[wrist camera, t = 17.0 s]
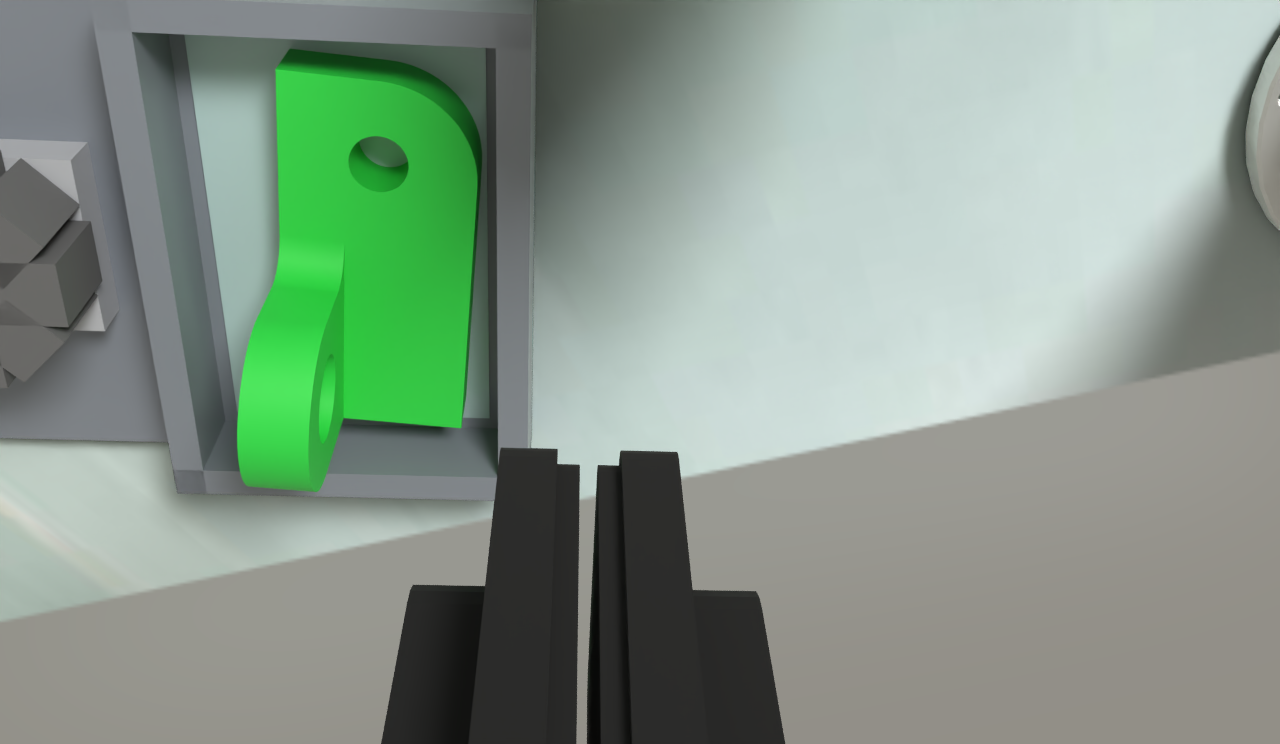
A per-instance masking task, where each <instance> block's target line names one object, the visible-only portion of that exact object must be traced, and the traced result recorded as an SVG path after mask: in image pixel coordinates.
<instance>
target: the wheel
mask: <svg viewBox="0 0 1280 744" xmlns="http://www.w3.org/2000/svg"><path fill="white" fill-rule="evenodd" d="M79 206H80V204H79V203H77V202H76V201H75V200H73V199H72V198H71V197H70V196H68V195H67V194H66V193H65V192H63V191H62V190H61V189H60V188H58V187H57V186H56V185H55V184H53V183H52V182H51V181H50V180H48V179H47V178H46V177H44V176H43V175H42V174H41V173H39V172H38V171H37V170H36V169H34V168H33V167H32V166H31V165H29V164H28V163H27V162H26V161H24V160H23V159H22V158H20V159H19V160H18V161H17V162H16V163H15V164H14V165H13V166H12V167H11V168H10V169H9V170H8V171H6V170H5V166H4V162H3V157H2V153H1V150H0V388H8V387H9V386H10V385H11V383H12V382H13V381H14V379H15V378H16V377H17V378H18V379H20V380H21V381H23V382H25V381H26V380H27V379H28V378H29V377H30V376H31V375H32V374H33V373H34V372H35V371H36V370H37V369H38V368H39V367H40V366H41V365H42V364H43V363H44V362H45V361H46V360H47V359H48V358H49V357H50V356H51V355H52V354H53V353H54V352H55V351H56V350H57V349H58V348H59V347H60V346H61V345H62V344H63V343H64V342H65V341H66V340H67V338H68V337H69V336H70V334H71V333H72V331H73V330H74V329H75V327H76V326H77V324H78V323H79V322H80V320H81V319H82V317H83V316H84V315H85V313H86V312H87V311H88V309H89V308H90V306H91V305H92V304H93V302H94V301H95V299H96V298H97V297H98V295H97V294H96V293H94V292H95V290H96V289H97V288H98V286H99V285H100V284H101V282H102V276H101V271H100V266H99V260H98V255H97V250H96V245H95V240H94V235H93V230H92V225H91V221H76V220H68V218H69V217H70V216H71V215H72V214H73V213H74V211H75V210H76V209H77V208H78V207H79Z"/></svg>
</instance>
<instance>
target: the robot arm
mask: <svg viewBox="0 0 1280 744" xmlns="http://www.w3.org/2000/svg"><path fill="white" fill-rule="evenodd" d="M1246 165H1247V169H1248V173H1249V177H1250V181H1251V185H1252V189H1253V193H1254V195H1255V197H1256V198H1257V200H1258V202H1259V204H1260V206H1261V208H1262V209H1263V211H1264V213H1265V215H1266V217H1267V218H1268V220H1269V221H1270V222H1271V223H1272V224H1273V225H1274V226H1275V227H1276V228H1277V229H1278V230H1279V231H1280V36H1279V37H1278V39H1277V41H1276V43H1275V44H1274V46H1273V48H1272V50H1271V51H1270V53H1269V55H1268V57H1267V58H1266V60H1265V63H1264V65H1263V68H1262V71H1261V73H1260V76H1259V79H1258V81H1257V84H1256V87H1255V89H1254V92H1253V95H1252V98H1251V104H1250V109H1249V115H1248V120H1247V126H1246ZM557 452H558V450H557V449H538V448H501V449H500V455H499V463H498V473H497V482H496V491H495V500H494V510H493V519H492V529H491V538H490V547H489V556H488V565H487V575H486V584H485V586H445V585H443V586H442V585H413V586H412V588H411V590H410V594H409V598H408V602H407V608H406V612H405V618H404V623H403V629H402V634H401V640H400V645H399V650H398V656H397V661H396V667H395V672H394V677H393V683H392V689H391V694H390V700H389V705H388V711H387V715H386V721H385V726H384V732H383V738H382V743H381V744H576V724H577V722H576V720H577V719H576V718H577V641H578V639H577V638H578V560H579V482H580V465H568V464H557ZM594 532H595V533H594V553H593V574H592V575H593V576H592V595H591V596H592V597H591V617H590V638H589V660H588V689H587V691H588V692H587V744H785V740H784V734H783V728H782V723H781V717H780V711H779V705H778V700H777V693H776V688H775V682H774V676H773V670H772V664H771V659H770V653H769V647H768V641H767V635H766V629H765V624H764V618H763V613H762V607H761V603H760V599H759V596H758V594H757V593H756V591H708V590H692V581H691V572H690V563H689V552H688V543H687V534H686V523H685V514H684V504H683V495H682V485H681V475H680V466H679V458H678V453H677V452H654V451H621V452H620V459H619V466H608V465H598V470H597V488H596V510H595V531H594Z"/></svg>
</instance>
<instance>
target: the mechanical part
mask: <svg viewBox="0 0 1280 744" xmlns="http://www.w3.org/2000/svg"><path fill="white" fill-rule="evenodd" d="M275 73H276V114H277V154H278V195H279V236H280V241H279V257H278V265H277V271H276V276H275V280H274V283H273V285H272V288H271V290H270V292H269V294H268V296H267V298H266V300H265V303H264V305H263V307H262V309H261V311H260V313H259V315H258V317H257V320H256V322H255V324H254V327H253V330H252V333H251V336H250V340H249V344H248V348H247V352H246V357H245V362H244V367H243V373H242V380H241V387H240V396H239V407H238V422H237V450H238V462H239V468H240V473H241V477H242V480H243V482H244V483H245V485H246V486H249V487H261V488H273V489H285V490H297V491H310V492H318V491H319V490H320V488H321V487H322V484H323V482H324V480H325V477H326V474H327V470H328V467H329V464H330V461H331V457H332V454H333V451H334V447H335V444H336V441H337V438H338V434H339V431H340V428H341V425H342V421H343V418H350V419H361V420H372V421H384V422H395V423H407V424H418V425H429V426H441V427H452V428H461V427H462V420H463V414H464V408H465V401H466V393H467V378H468V363H469V349H470V334H471V319H472V305H473V290H474V275H475V261H476V246H477V231H478V217H479V202H480V187H481V172H482V146H481V140H480V135H479V132H478V129H477V126H476V124H475V121H474V119H473V117H472V115H471V113H470V112H469V110H468V108H467V107H466V105H465V104H464V103H463V101H462V100H461V99H460V98H459V96H458V95H457V94H456V93H455V92H454V91H453V90H452V89H451V88H450V87H449V86H448V85H446V84H445V83H444V82H442V81H441V80H440V79H438V78H437V77H435V76H434V75H432V74H430V73H428V72H426V71H424V70H422V69H420V68H418V67H415V66H412V65H410V64H406V63H402V62H398V61H392V60H384V59H375V58H367V57H358V56H349V55H341V54H332V53H324V52H315V51H307V50H298V49H289V50H288V52H287V53H286V55H285V56H284V58H283V59H282V60H281V62H280V63H279V65H278V66H277V68H276V69H275ZM372 136H380V137H384V138H388V139H390V140H392V141H394V142H395V143H396V144H398V145H399V146H400V147H401V148H402V150H403V151H404V153H405V154H406V157H407V159H408V161H407V162H406V163H405V164H403V165H400V166H397V167H384V166H380V165H378V164H376V163H374V162H372V161H371V160H370V159H369V158H368V157H367V156H366V155H365V154H364V152H363V151H362V149H361V146H360V143H359V141H360V140H362V139H364V138H367V137H372Z"/></svg>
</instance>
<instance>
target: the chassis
mask: <svg viewBox="0 0 1280 744" xmlns="http://www.w3.org/2000/svg"><path fill="white" fill-rule="evenodd" d="M536 30H537V0H0V150H1V153H2V157H3V162H4V166H5V170H6V171H8V170H9V169H10V168H11V167H12V166H13V165H14V164H15V163H16V162H17V161H18V160H19V159H20V158H22V159H23V160H24V161H26V162H27V163H28V164H29V165H31V166H32V167H33V168H34V169H36V170H37V171H38V172H39V173H41V174H42V175H43V176H44V177H46V178H47V179H48V180H50V181H51V182H52V183H53V184H55V185H56V186H57V187H58V188H60V189H61V190H62V191H63V192H65V193H66V194H67V195H68V196H70V197H71V198H72V199H73V200H75V201H76V202H77V203H79V204H80V206H79V207H78V208H77V209H76V210H75V211H74V213H73V214H72V215H71V216H70V217H69V218H68V220H76V221H91V225H92V230H93V235H94V240H95V245H96V250H97V255H98V260H99V266H100V271H101V276H102V282H101V284H100V285H99V286H98V288H97V289H96V290H95V292H94V293H96V294H97V295H98V297H97V298H96V299H95V301H94V302H93V304H92V305H91V306H90V308H89V309H88V311H87V312H86V313H85V315H84V316H83V317H82V319H81V320H80V322H79V323H78V324H77V326H76V327H75V329H74V330H73V331H72V333H71V334H70V336H69V337H68V338H67V340H66V341H65V342H64V343H63V344H62V345H61V346H60V347H59V348H58V349H57V350H56V351H55V352H54V353H53V354H52V355H51V356H50V357H49V358H48V359H47V360H46V361H45V362H44V363H43V364H42V365H41V366H40V367H39V368H38V369H37V370H36V371H35V372H34V373H33V374H32V375H31V376H30V377H29V378H28V379H27V380H26V381H25V382H23V381H21V380H20V379H18V378H17V377H16V378H15V379H14V381H13V382H12V383H11V385H10V386H9V387H8V388H0V438H21V439H60V440H99V441H138V442H168V444H169V449H170V455H171V461H172V466H173V472H174V477H175V483H176V489H177V493H184V494H227V495H270V496H314V497H357V498H400V499H444V500H487V501H494V500H495V491H496V482H497V473H498V463H499V455H500V449H501V448H531V440H532V374H533V288H534V202H535V116H536ZM289 49H298V50H307V51H315V52H324V53H332V54H341V55H349V56H358V57H367V58H375V59H384V60H392V61H398V62H402V63H406V64H410V65H412V66H415V67H418V68H420V69H422V70H424V71H426V72H428V73H430V74H432V75H434V76H435V77H437V78H438V79H440V80H441V81H442V82H444V83H445V84H446V85H448V86H449V87H450V88H451V89H452V90H453V91H454V92H455V93H456V94H457V95H458V96H459V98H460V99H461V100H462V101H463V103H464V104H465V105H466V107H467V108H468V110H469V112H470V113H471V115H472V117H473V119H474V121H475V124H476V126H477V129H478V132H479V135H480V140H481V146H482V172H481V187H480V202H479V217H478V231H477V246H476V261H475V275H474V290H473V305H472V319H471V334H470V349H469V363H468V378H467V393H466V401H465V408H464V414H463V420H462V427H461V428H452V427H441V426H429V425H418V424H407V423H395V422H384V421H372V420H361V419H350V418H343V421H342V425H341V428H340V431H339V434H338V438H337V441H336V444H335V447H334V451H333V454H332V457H331V461H330V464H329V467H328V470H327V474H326V477H325V480H324V482H323V484H322V487H321V488H320V490H319V491H318V492H310V491H297V490H285V489H273V488H261V487H249V486H246V485H245V483H244V482H243V480H242V477H241V473H240V468H239V462H238V450H237V422H238V407H239V396H240V387H241V380H242V373H243V367H244V362H245V357H246V352H247V348H248V344H249V340H250V336H251V333H252V330H253V327H254V324H255V322H256V320H257V317H258V315H259V313H260V311H261V309H262V307H263V305H264V303H265V300H266V298H267V296H268V294H269V292H270V290H271V288H272V285H273V283H274V280H275V276H276V271H277V265H278V257H279V241H280V236H279V195H278V154H277V114H276V73H275V69H276V68H277V66H278V65H279V63H280V62H281V60H282V59H283V58H284V56H285V55H286V53H287V52H288V50H289ZM359 143H360V146H361V149H362V151H363V152H364V154H365V155H366V156H367V157H368V158H369V159H370V160H371V161H372V162H374V163H376V164H378V165H380V166H384V167H397V166H400V165H403V164H405V163H406V162H407V161H408V159H407V157H406V154H405V153H404V151H403V150H402V148H401V147H400V146H399V145H398V144H396V143H395V142H394V141H392V140H390V139H388V138H384V137H380V136H372V137H367V138H364V139H362V140H360V141H359Z"/></svg>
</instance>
